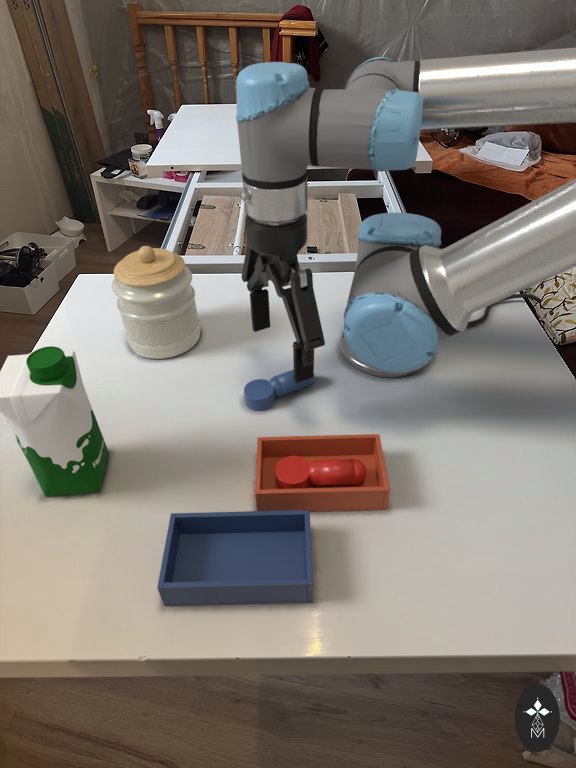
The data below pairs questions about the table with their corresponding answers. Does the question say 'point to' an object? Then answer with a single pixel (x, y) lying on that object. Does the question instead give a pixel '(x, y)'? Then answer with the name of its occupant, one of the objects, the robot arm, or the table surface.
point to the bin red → (322, 497)
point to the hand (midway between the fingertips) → (281, 352)
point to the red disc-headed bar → (317, 472)
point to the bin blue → (237, 558)
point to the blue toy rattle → (271, 390)
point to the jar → (156, 303)
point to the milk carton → (53, 421)
